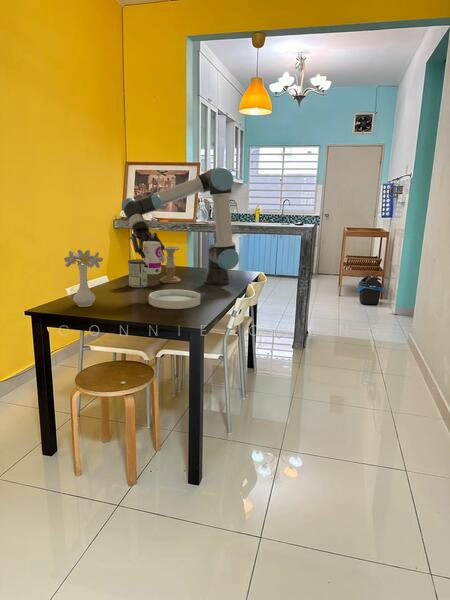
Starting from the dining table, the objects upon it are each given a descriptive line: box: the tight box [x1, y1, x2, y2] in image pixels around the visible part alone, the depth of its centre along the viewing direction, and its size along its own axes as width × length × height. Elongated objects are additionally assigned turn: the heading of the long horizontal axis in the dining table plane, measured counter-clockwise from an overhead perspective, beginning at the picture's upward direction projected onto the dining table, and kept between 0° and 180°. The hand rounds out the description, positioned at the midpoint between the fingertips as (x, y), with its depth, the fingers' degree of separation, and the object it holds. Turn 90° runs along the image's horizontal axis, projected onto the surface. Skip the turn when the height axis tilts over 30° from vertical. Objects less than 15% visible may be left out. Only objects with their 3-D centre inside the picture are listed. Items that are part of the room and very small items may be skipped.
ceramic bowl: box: [148, 289, 201, 310], centre depth 195 cm, size 24×24×4 cm
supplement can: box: [143, 241, 162, 275], centre depth 198 cm, size 8×8×15 cm
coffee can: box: [127, 258, 148, 288], centre depth 228 cm, size 10×10×14 cm
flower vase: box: [63, 249, 104, 308], centre depth 182 cm, size 13×18×25 cm
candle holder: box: [159, 246, 182, 284], centre depth 241 cm, size 12×12×20 cm
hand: (156, 262), depth 196 cm, fingers closed on supplement can, 8 cm apart
